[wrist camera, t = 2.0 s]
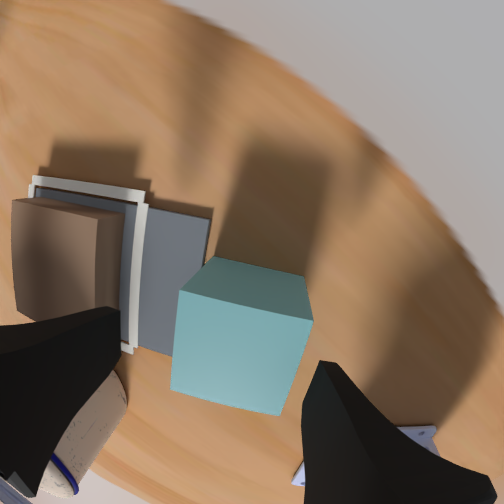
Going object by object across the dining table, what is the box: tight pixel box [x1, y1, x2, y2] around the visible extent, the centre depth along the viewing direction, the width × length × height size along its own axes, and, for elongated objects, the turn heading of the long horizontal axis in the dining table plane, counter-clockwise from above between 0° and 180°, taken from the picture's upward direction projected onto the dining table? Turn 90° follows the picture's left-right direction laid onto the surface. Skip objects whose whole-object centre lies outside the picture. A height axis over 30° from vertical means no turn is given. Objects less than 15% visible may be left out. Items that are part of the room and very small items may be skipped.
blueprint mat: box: [28, 175, 211, 357], centre depth 15 cm, size 13×10×1 cm
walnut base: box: [11, 197, 125, 322], centre depth 13 cm, size 7×7×2 cm
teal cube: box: [170, 256, 314, 416], centre depth 12 cm, size 4×4×5 cm
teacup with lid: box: [0, 370, 127, 498], centre depth 12 cm, size 12×9×12 cm
